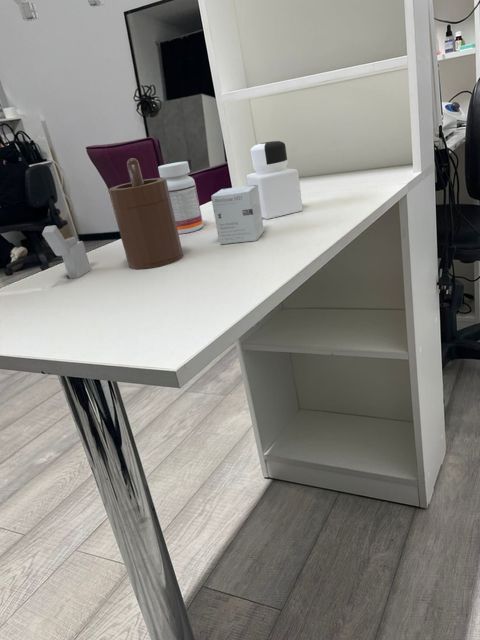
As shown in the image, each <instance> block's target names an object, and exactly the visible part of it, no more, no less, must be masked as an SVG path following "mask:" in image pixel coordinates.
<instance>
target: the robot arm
mask: <svg viewBox="0 0 480 640" xmlns="http://www.w3.org/2000/svg"><path fill="white" fill-rule="evenodd" d="M13 1H14V2H15V3H16V5H17V6H18V8H19V10H20V14H21V17H22V19H23V21H27V22H31V21H35V20H39V13H38V12H37V11H38V10H37V6H36V3H33V2H32V3H31V2H30V1H29V2H28V1H27V0H13ZM87 1H88V4H89V6H90V7H93V8H94V7H100V6H103V5H105V0H87Z"/></svg>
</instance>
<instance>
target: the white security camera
mask: <svg viewBox="0 0 480 640" xmlns="http://www.w3.org/2000/svg"><path fill="white" fill-rule="evenodd" d="M249 151H250V155H251V163H252V168H253V171H255V172H251V173H249V174H247V175H246V181H247V186H250V185H258V191H259V199H260V206H261V213H262V219H265V220H271V219H274V218H279V217H283V216H286V215H291V214H295V213H299V212H302V211H303V210H304V208H303V199H302V193H301V192H302V191H301V184H300V178H299V177H300V176H299V170H298V169H296V168H289V167H287V165H289V163H288V155H287V148H286V143H285V142H284V141H280V140H271V141H266V142H260V143H258V144H254V145H253V146H252V147H251V148H250V150H249Z"/></svg>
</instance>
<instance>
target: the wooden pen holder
mask: <svg viewBox="0 0 480 640" xmlns="http://www.w3.org/2000/svg"><path fill="white" fill-rule="evenodd" d="M143 183H144V185H141V186H135V187H132V183H131V181H129V182H127V183H122V184H118V185H116V186H112V187H110V188H108V189H107V191H108V194H109V199H110V202H111V205H112V206H111V207H112V209H113V213H114V216H115V220H116V224H117V227H118V231H119V235H120V238H121V242H122V247H123V249H124V253H125V257H126V261H127V264H128V267H129V268H130V269H133V270H146V269H154V268H159V267H163V266H166V265H171V264H173V263H175V262H177V261H179V260H180V259H182V258H183V257H184V253H183V248H182V243H181V239H180V234H178V230H177V225H176V221H175V216H174V212H173V208H172V203H171V199H170V194H169V190H168V186H167V181H166V178H160V177H155V178H147V179H143Z"/></svg>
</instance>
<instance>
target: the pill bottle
mask: <svg viewBox="0 0 480 640" xmlns="http://www.w3.org/2000/svg"><path fill="white" fill-rule="evenodd" d="M157 169H158V174H159V178H166V181H167V186H168V190H169V194H170V199H171V203H172V208H173V212H174V216H175V221H176V225H177V230H178V234H179V235H181V234H188V233H192V232H195V231H196V232H197V231H198V230H200V229H202V228H203V227H204V221H203V216H202V211H201V207H200V202H199V201H200V200H199V196H198V192H197V191H198V190H197V186H196V182H195V179H194V178H193V177H192V176H189V175H188V174H189V173H191V170H190V166H189V162H188V161H178V162H177V161H176V162H171V163H166V164H162V165H159V166H158V167H157Z"/></svg>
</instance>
